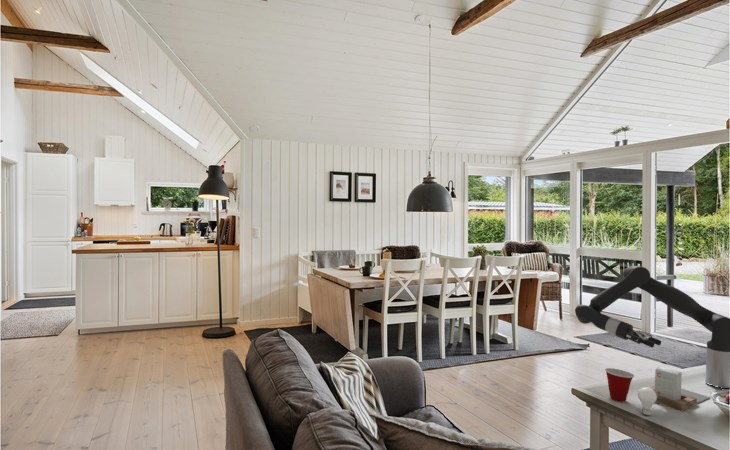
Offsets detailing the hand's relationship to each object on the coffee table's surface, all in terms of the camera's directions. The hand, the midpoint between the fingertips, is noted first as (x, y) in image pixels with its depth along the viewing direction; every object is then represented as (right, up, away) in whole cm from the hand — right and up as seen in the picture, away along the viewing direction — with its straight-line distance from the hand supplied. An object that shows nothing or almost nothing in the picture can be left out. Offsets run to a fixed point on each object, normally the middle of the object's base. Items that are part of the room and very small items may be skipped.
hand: (657, 344), depth 192 cm
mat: (+15, -23, +2) cm, 28 cm away
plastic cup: (-19, -23, -4) cm, 30 cm away
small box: (+2, -23, -4) cm, 24 cm away
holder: (+2, -23, -4) cm, 23 cm away
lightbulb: (-17, -23, -19) cm, 34 cm away
